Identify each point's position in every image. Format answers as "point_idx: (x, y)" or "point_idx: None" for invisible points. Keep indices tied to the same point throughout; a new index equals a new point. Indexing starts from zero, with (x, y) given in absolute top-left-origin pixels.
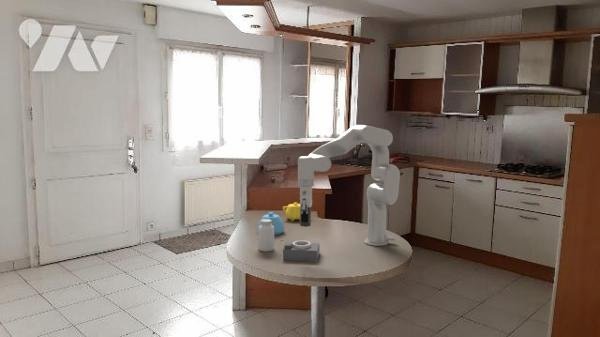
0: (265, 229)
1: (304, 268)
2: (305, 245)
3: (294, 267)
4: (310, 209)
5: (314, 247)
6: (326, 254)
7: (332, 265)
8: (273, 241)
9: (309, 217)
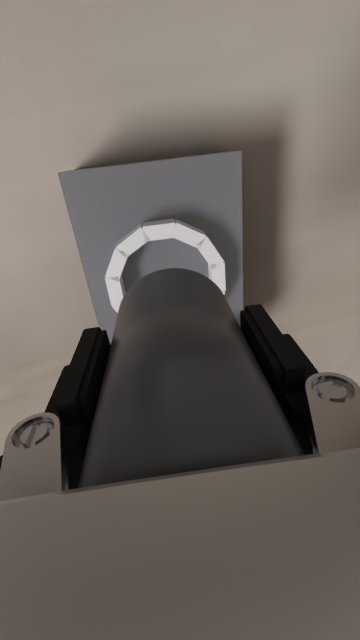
0: None
1: (343, 194)
2: (211, 247)
3: (330, 247)
4: (213, 400)
5: (170, 187)
6: (80, 113)
7: (286, 16)
8: None
9: (218, 320)
